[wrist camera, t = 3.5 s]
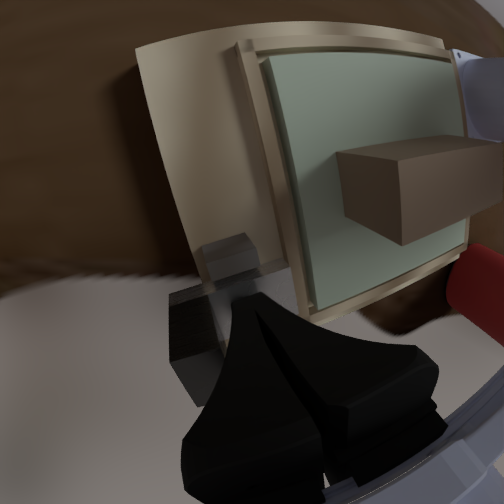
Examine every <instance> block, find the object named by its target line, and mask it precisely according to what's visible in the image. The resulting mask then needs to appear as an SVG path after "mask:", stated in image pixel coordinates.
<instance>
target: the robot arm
mask: <svg viewBox="0 0 504 504" xmlns="http://www.w3.org/2000/svg"><path fill="white" fill-rule="evenodd" d="M449 51H453V52H454V56H455V60H456V64H457V68H458V73H459V78H460V82H461V88H462V93H463V99H464V105H465V112H466V120H467V129H468V137H469V138H476V139H482V140H488V141H494V142H504V58H482V57H479V56H476V55H473V54H470V53H467V52H463V51H460V50H457V49H450V50H449ZM230 305H231V310H232V319H231V330H230V337H229V342H228V347H227V352H226V356H225V359H224V363H223V366H222V369H221V372H220V375H219V377H218V380H217V382H216V384H215V387H214V389H213V391H212V393H211V395H210V397H209V399H208V401H207V403H206V405H205V407H204V408H203V410H202V412H201V414H200V415H199V417H198V418H197V420H196V422H195V423H194V424H193V426H192V427H191V429H190V430H189V432H188V433H187V434H186V436H185V437H184V438H183V440H182V449H181V472H182V478H183V484H184V490H185V491H186V492H187V493H188V494H189V495H191V496H192V497H194V498H196V499H197V500H199V501H200V502H202V503H204V504H348V503H349V504H504V478H503V477H502V475H501V474H500V473H499V472H498V471H497V469H496V468H495V467H494V466H493V463H494V462H495V461H496V460H497V459H498V458H499V457H500V456H501V455H502V454H503V453H504V365H503V366H502V367H501V369H500V370H499V371H498V372H497V373H496V374H495V375H494V376H493V377H492V378H491V379H490V380H489V381H488V382H487V383H486V384H485V385H484V386H483V387H482V388H481V389H479V390H478V391H477V392H476V393H475V394H474V395H473V396H472V397H471V398H469V399H468V400H467V401H466V402H465V403H464V404H462V405H461V406H460V407H459V408H458V409H457V410H455V411H454V412H453V413H452V414H450V415H449V416H448V417H447V418H445V419H444V420H443V419H442V418H441V417H440V415H439V414H438V413H437V412H436V411H435V410H436V408H437V405H436V403H435V402H434V401H433V400H432V399H431V396H432V393H433V391H434V388H435V386H436V383H437V380H438V375H439V368H438V365H437V364H436V363H435V362H434V361H433V360H432V359H431V358H430V357H429V356H428V355H427V354H426V353H424V352H423V351H422V350H421V349H419V348H418V347H417V346H416V345H401V344H386V343H379V342H372V341H367V340H362V339H357V338H353V337H349V336H345V335H342V334H339V333H335V332H332V331H330V330H327V329H324V328H322V327H320V326H317V325H315V324H313V323H311V322H309V321H307V320H305V319H303V318H301V317H299V316H297V315H296V314H294V313H292V312H291V311H289V310H287V309H286V308H284V307H283V306H281V305H280V304H278V303H277V302H275V301H274V300H273V299H271V298H270V297H269V296H267V295H266V294H265V293H263V292H258V293H255V294H252V295H249V296H246V297H243V298H240V299H237V300H234V301H232V303H231V304H230ZM430 455H431V456H430ZM429 456H430V457H429ZM426 458H427V459H426ZM425 459H426V460H425ZM423 460H424V461H423ZM422 461H423V462H422ZM420 462H421V463H420ZM419 463H420V464H419ZM417 464H418V465H417ZM416 465H417V466H416ZM414 466H415V467H414ZM413 467H414V468H413ZM411 468H412V469H411ZM410 469H411V470H410ZM408 470H409V471H408ZM407 471H408V472H407ZM405 472H406V473H405ZM323 473H325V476H326V478H327V480H328V482H329V484H330V487H327V488H325V485H324V476H323ZM403 473H405V474H403ZM402 474H403V475H402ZM400 475H401V476H400ZM399 476H400V477H399ZM397 477H398V478H397ZM395 478H396V479H395ZM394 479H395V480H394ZM392 480H393V481H392ZM390 481H391V482H390ZM389 482H390V483H389ZM387 483H388V484H387ZM385 484H386V485H385ZM383 485H384V486H383ZM382 486H383V487H382ZM380 487H381V488H380ZM378 488H379V489H378ZM376 489H377V490H376ZM374 490H375V491H374ZM372 491H374V492H372ZM370 492H372V493H370ZM368 493H370V494H368ZM366 494H368V495H366ZM364 495H366V496H364ZM362 496H364V497H362ZM360 497H362V498H360ZM358 498H360V499H358ZM356 499H358V500H356ZM354 500H356V501H354ZM352 501H354V502H352ZM350 502H351V503H350Z"/></svg>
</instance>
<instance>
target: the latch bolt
mask: <svg viewBox="0 0 504 504" xmlns="http://www.w3.org/2000/svg"><path fill="white" fill-rule="evenodd" d="M258 292H263V293H265V294H266V295H267V296H269V297H270V298H271V299H273V300H274V301H275V302H277V303H278V304H280V305H281V306H283V307H284V308H286V309H287V310H289V311H291V312H292V313H294V314H296V315H298V314H299V311H298V305H297V300H296V294H295V289H294V283H293V278H292V273H291V267H290V266H289V265H288V264H287V262H286V261H285V260H284V259H283V258H279V259H276V260H273V261H270V262H267V263H264V264H261V266H259V267H256V268H253V269H250V270H247V271H244V272H241V273H238V274H235V275H232V276H229V277H225V278H222V279H219V280H216V281H213V282H212V280H211V281H208V282H205V283H202V284H199V285H196V286H193V287H190V288H187V289H184V290H180V291H177V292H174V293H171V294H169V361H170V364H171V366H172V368H173V369H174V371H175V373H176V374H177V376H178V378H179V379H180V381H181V382H182V384H183V386H184V387H185V389H186V390H187V392H188V394H189V395H190V397H191V398H192V400H193V401H194V403H195V404H196V406H197V407H201V406H205V405H206V403H207V401H208V399H209V397H210V395H211V393H212V391H213V389H214V387H215V384H216V382H217V380H218V377H219V375H220V372H221V369H222V366H223V363H224V359H225V356H226V352H227V346H226V342H225V340H226V339H229V337H230V330H231V319H232V310H231V305H230V304H231V303H232V301H234V300H237V299H240V298H243V297H246V296H249V295H252V294H255V293H258Z"/></svg>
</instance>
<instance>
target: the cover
mask: <svg viewBox="0 0 504 504" xmlns="http://www.w3.org/2000/svg"><path fill="white" fill-rule="evenodd" d="M262 65H263V69H264V72H265V76H266V80H267V84H268V88H269V92H270V96H271V100H272V104H273V109H274V113H275V117H276V121H277V126H278V130H279V134H280V139H281V143H282V148H283V153H284V157H285V162H286V167H287V172H288V176H289V181H290V186H291V191H292V196H293V202H294V207H295V212H296V218H297V223H298V229H299V234H300V240H301V246H302V252H303V257H304V264H305V270H306V276H307V282H308V289H309V296H310V301H311V302H312V303H313V305H314V306H315V307H316V308H317V310H320V309H323V308H325V307H328V306H330V305H333V304H335V303H338V302H340V301H342V300H345V299H347V298H349V297H352V296H354V295H356V294H359V293H361V292H363V291H366V290H368V289H370V288H372V287H375V286H377V285H379V284H381V283H384V282H386V281H388V280H390V279H392V278H394V277H397V276H399V275H401V274H403V273H405V272H407V271H409V270H411V269H413V268H415V267H417V266H419V265H421V264H423V263H425V262H427V261H429V260H431V259H433V258H435V257H437V256H439V255H441V254H443V253H445V252H447V251H449V250H451V249H452V248H454V247H456V246H458V245H460V244H462V243H464V236H465V222H466V218H468V217H470V216H472V215H474V214H476V213H478V212H480V211H482V210H484V209H486V208H489V207H491V206H493V205H495V204H497V203H499V202H501V201H502V193H503V151H502V143H499V142H494V141H488V140H482V139H476V138H469V137H464V130H463V122H462V114H461V107H460V100H459V95H458V89H457V84H456V79H455V74H454V70H453V65H452V64H451V63H446V62H441V61H435V60H429V59H423V58H416V57H408V56H400V55H389V54H376V53H353V52H326V53H302V54H288V55H277V56H269V57H268V58H266V59H265V60H264V61H263V62H262Z"/></svg>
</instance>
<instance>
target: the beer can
mask: <svg viewBox="0 0 504 504" xmlns="http://www.w3.org/2000/svg"><path fill="white" fill-rule="evenodd" d="M446 298H447V302H448V304H449V305H450V306H451V307H452V308H454V309H455V310H457V311H458V312H459V313H461V314H462V315H463V316H465V317H466V318H467V319H469V320H470V321H471V322H473V323H474V324H475V325H476V326H478V327H479V328H480V329H482V330H483V331H484V332H486V333H487V334H488V335H489V336H491V337H492V338H493V339H495V340H496V341H497V342H498V343H500V344H501V345H502V346H503V347H504V256H503V255H501V254H499V253H497V252H495V251H493V250H491V249H489V248H487V247H485V246H483V245H481V244H479V243H475V244H471V245H469V246H467V250H465V251H463V252H461V253H460V255H459V258H458V259H456V260H455V262H454V263H453V265H452V268H451V270H450V272H449V275H448V279H447V283H446Z"/></svg>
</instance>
